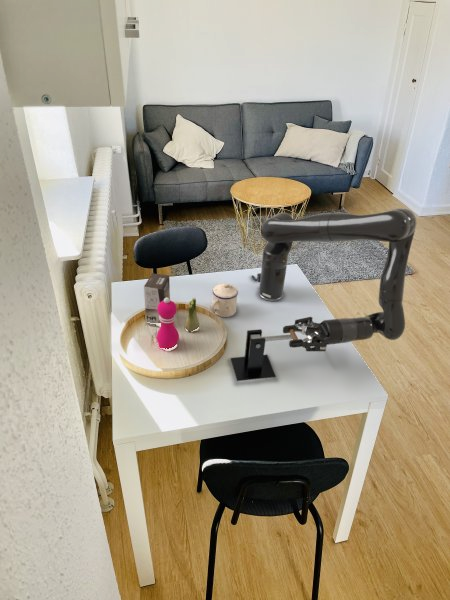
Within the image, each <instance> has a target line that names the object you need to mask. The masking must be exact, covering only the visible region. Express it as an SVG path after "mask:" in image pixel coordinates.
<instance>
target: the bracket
mask: <svg viewBox="0 0 450 600" xmlns="http://www.w3.org/2000/svg"><path fill="white" fill-rule="evenodd" d="M254 334H260V336H261V337H263V329H260V328H259V329H250V330H249V329H248V330H246V338H245V348H244V349H245V350H244V356H238V357H230V362H231V365H232V368H233V372H234V375H235V379H236V382H241V381H250V380H259V379H269V378H276V374H275V372H274V369H273V366H272V363H271V361H270V359H269V356H268V354H265V348H266V341H265V338H258V339H250V336H251V335H254Z"/></svg>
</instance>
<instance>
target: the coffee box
mask: <svg viewBox="0 0 450 600" xmlns="http://www.w3.org/2000/svg"><path fill="white" fill-rule="evenodd" d="M170 286H171V285H170V275H169V274H163V273H154V272H152V273H151V274H150V276H149V277H148V278H147V280H146V282H145V284H144V285H143V293H144V295H143V296H144V311H145V313H144V314H145V325H147V326H151V327H156V326H155V325H156V324H150V323H161V321H160V320H159V314H158V312H157V307H158V304H159V303H160V302H161V301H163V300H164V299H165V298H166V297H167V298H169V299H170V300H171V290H170ZM146 322H150V323H146Z"/></svg>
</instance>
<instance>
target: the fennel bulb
mask: <svg viewBox="0 0 450 600" xmlns="http://www.w3.org/2000/svg"><path fill="white" fill-rule="evenodd" d="M196 307H197V299H196V297H193V298H192V299H191V300H190V301H189V305H188V306H187V309H188V315H187V317H186V320H185V323H184V329H185V328H186V329H187V330H188V331H193V330H195V329H197V328H198V327H199V328H200V321H199V318H198V315H197V312H196V310H197V309H196Z"/></svg>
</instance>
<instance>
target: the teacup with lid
mask: <svg viewBox="0 0 450 600" xmlns="http://www.w3.org/2000/svg"><path fill="white" fill-rule="evenodd" d="M238 294H239V290H238V288H237V287H236V286H235V285H234V284H231V283H228V282H224V283H223V282H222V283H219V284H216V285H215V286H214V287H213V289H212V302H211V304H210V311H211V312H212V313H214V312H216V313H217V314H218V315H219V316H218V315H217V316H218V317H220V318H229V317H232V316H234V315H235V313H236V312H237V304H238V303H237V302H238Z"/></svg>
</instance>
